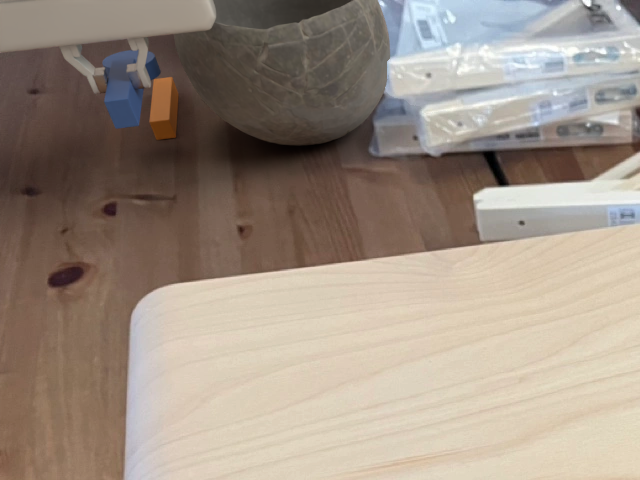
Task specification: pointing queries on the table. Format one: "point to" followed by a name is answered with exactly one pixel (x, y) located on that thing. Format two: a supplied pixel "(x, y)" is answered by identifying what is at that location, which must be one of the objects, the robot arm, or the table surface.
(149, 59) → the blue block
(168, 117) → the block
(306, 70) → the bowl
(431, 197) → the table surface
